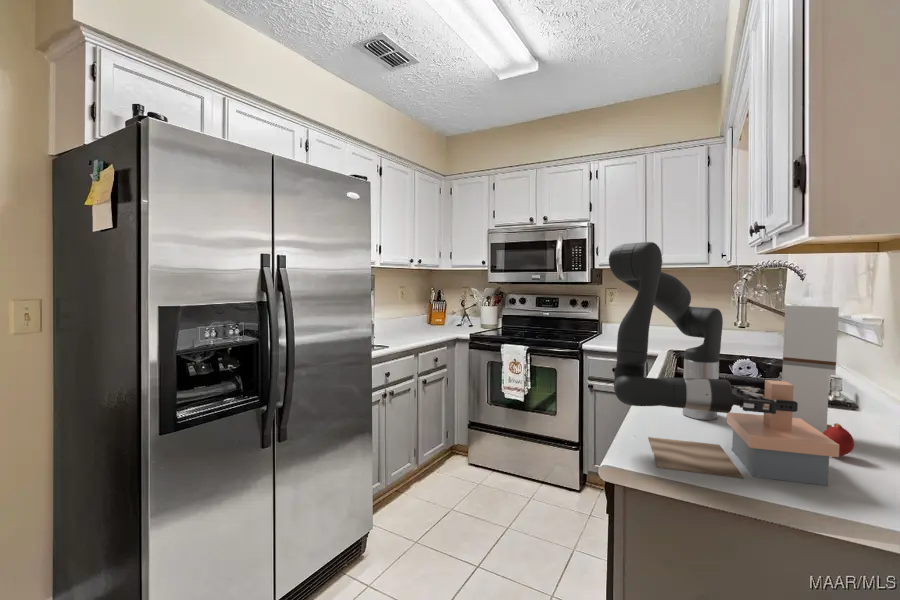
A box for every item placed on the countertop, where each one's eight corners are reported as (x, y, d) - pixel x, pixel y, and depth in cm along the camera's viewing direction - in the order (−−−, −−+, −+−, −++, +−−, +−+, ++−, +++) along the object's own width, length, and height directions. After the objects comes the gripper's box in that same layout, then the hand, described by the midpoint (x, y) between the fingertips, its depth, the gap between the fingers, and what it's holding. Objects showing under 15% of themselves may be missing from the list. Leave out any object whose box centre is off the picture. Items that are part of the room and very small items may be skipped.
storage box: (732, 449, 107) (733, 417, 107) (795, 456, 103) (796, 423, 102) (753, 476, 93) (754, 439, 92) (827, 485, 89) (829, 447, 88)
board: (648, 438, 114) (648, 436, 114) (719, 446, 109) (719, 444, 109) (657, 467, 97) (658, 465, 97) (743, 478, 92) (743, 476, 92)
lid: (726, 422, 108) (728, 372, 107) (800, 428, 103) (802, 376, 103) (750, 447, 92) (752, 389, 91) (838, 457, 87) (841, 395, 86)
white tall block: (832, 444, 111) (838, 307, 109) (779, 434, 118) (785, 305, 116) (831, 432, 119) (837, 305, 117) (782, 423, 126) (787, 303, 124)
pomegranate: (834, 450, 107) (836, 418, 106) (860, 460, 101) (862, 426, 100) (814, 452, 106) (815, 419, 105) (839, 462, 100) (840, 428, 100)
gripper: (714, 386, 95) (803, 392, 89) (699, 372, 108) (776, 377, 103) (712, 420, 95) (802, 428, 90) (698, 402, 108) (775, 408, 103)
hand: (788, 401), depth 96 cm, fingers open, 8 cm apart
